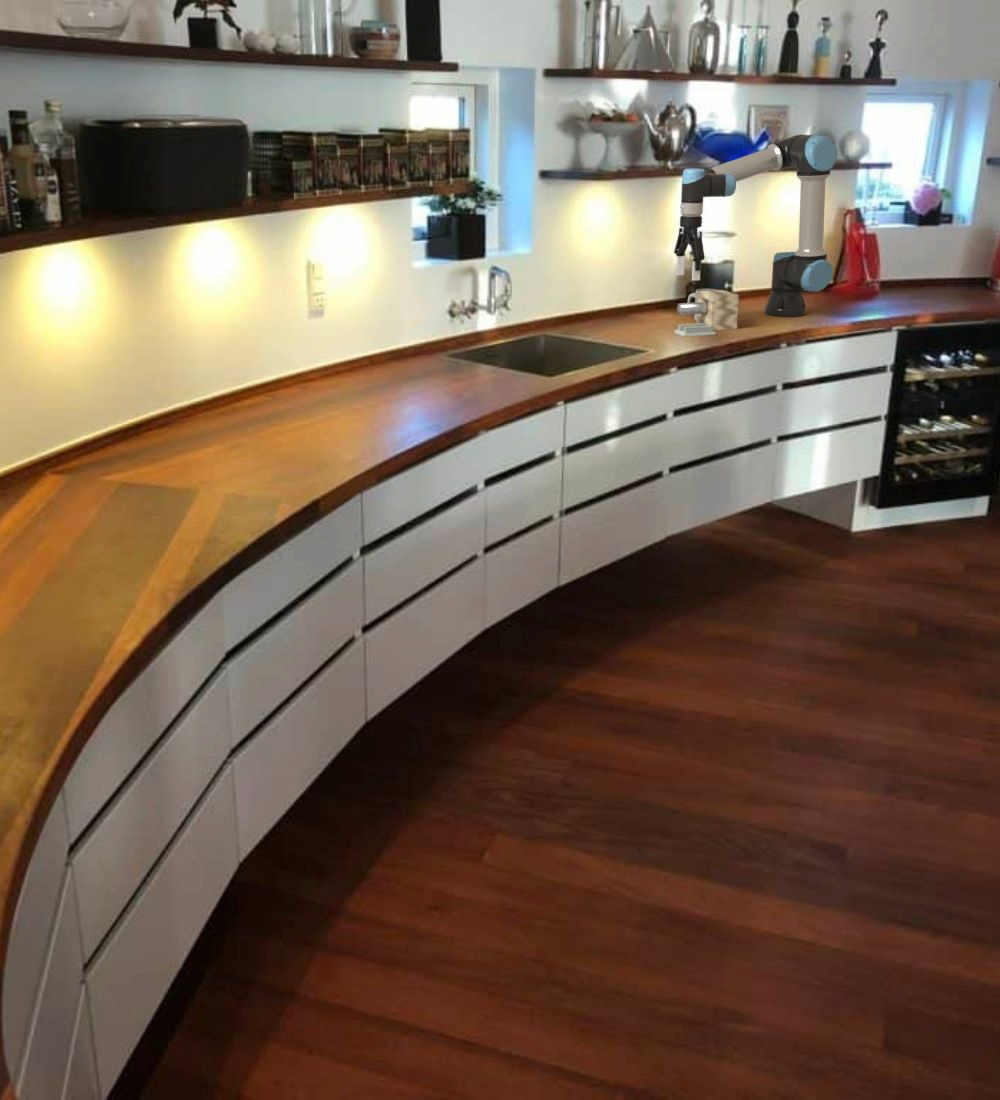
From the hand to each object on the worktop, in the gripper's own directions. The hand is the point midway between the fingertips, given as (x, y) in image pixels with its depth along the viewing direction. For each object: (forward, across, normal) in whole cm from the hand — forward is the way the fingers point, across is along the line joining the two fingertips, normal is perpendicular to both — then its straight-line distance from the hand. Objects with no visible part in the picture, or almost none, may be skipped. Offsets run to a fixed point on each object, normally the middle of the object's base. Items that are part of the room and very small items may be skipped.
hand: (687, 277), depth 426 cm
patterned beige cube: (+18, 0, +12) cm, 22 cm away
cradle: (+18, +10, -1) cm, 20 cm away
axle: (+11, 0, +8) cm, 14 cm away
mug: (+18, -15, +13) cm, 27 cm away
